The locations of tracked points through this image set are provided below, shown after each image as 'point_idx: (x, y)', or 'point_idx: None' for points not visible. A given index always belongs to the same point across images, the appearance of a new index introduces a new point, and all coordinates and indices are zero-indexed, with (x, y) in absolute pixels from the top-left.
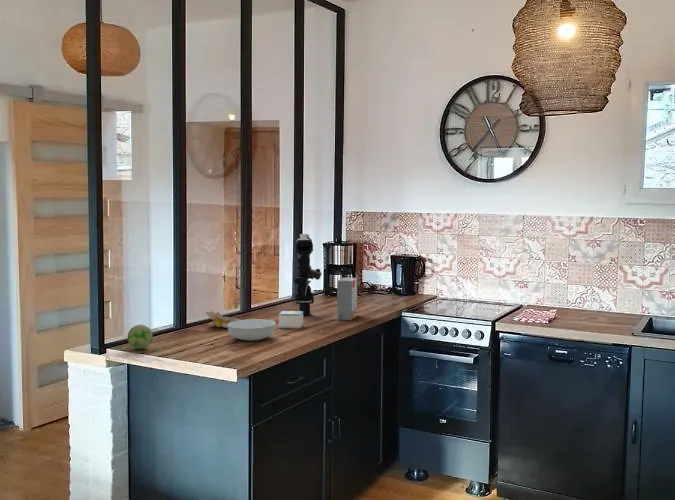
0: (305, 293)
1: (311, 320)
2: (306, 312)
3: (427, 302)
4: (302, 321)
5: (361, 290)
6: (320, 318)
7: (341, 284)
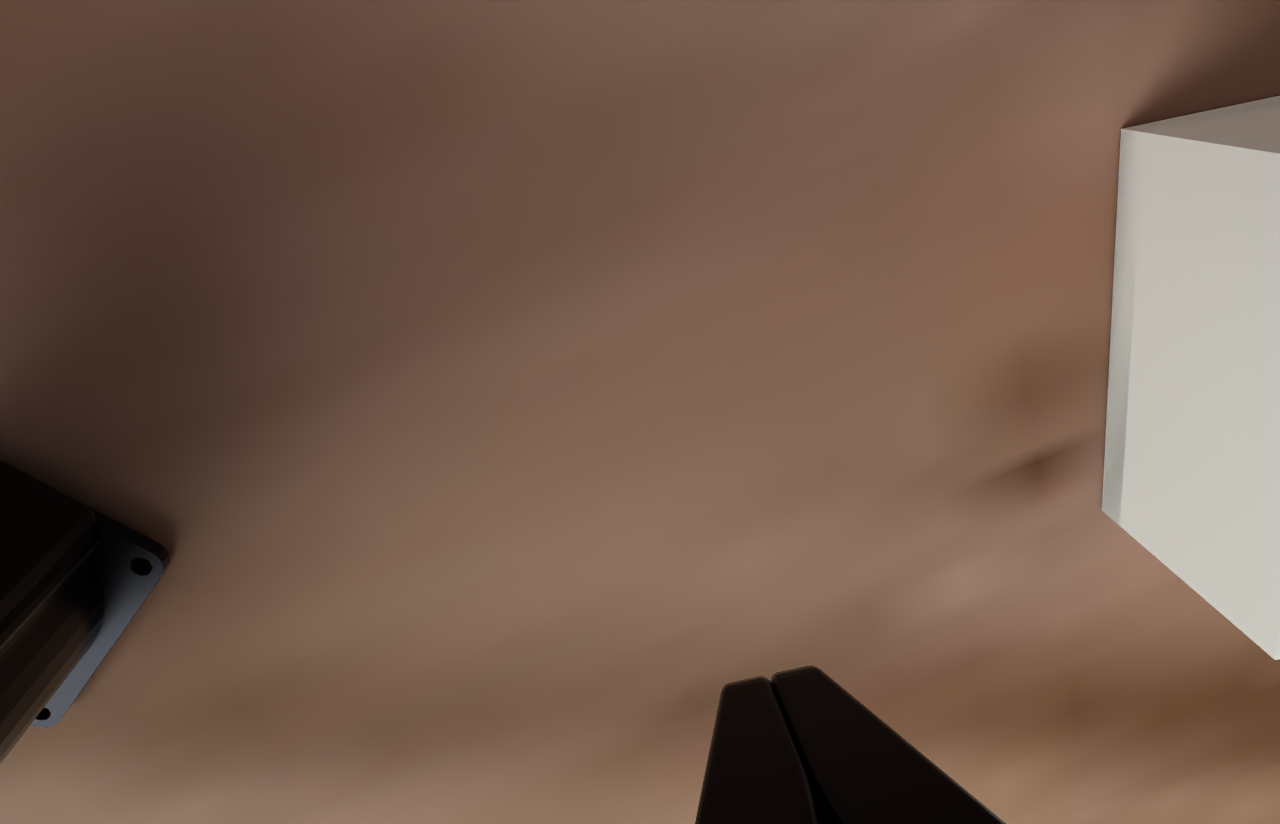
0: (894, 732)
1: (500, 188)
2: (45, 530)
3: None
4: (1270, 122)
5: None
6: (144, 75)
7: None
